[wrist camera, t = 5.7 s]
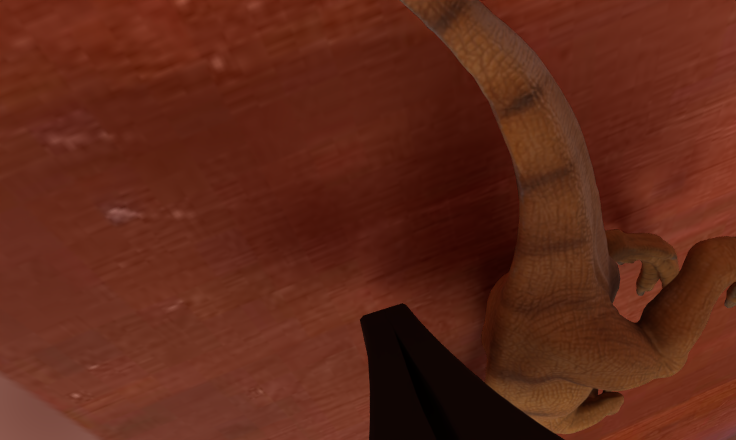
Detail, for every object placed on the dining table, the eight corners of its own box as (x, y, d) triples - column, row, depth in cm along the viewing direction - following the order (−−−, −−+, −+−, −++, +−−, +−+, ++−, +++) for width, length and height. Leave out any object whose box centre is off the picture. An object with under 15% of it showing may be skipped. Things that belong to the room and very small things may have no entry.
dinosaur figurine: (589, 367, 21) (389, 441, 19) (765, -217, 8) (242, -141, 7) (711, 503, 15) (445, 622, 14) (1723, -591, 3) (216, -625, 1)
